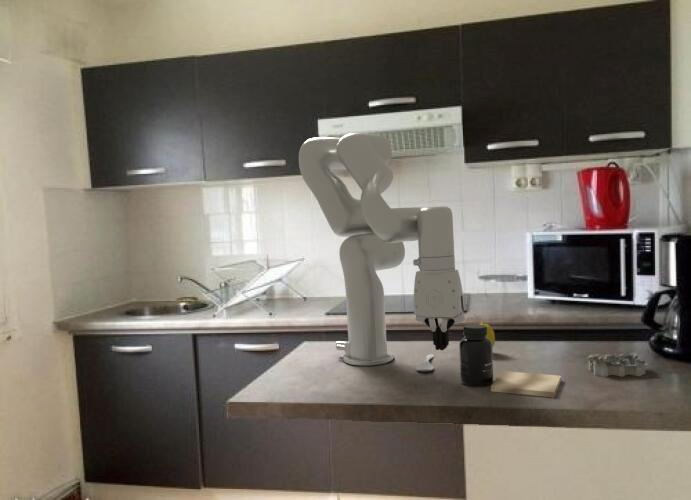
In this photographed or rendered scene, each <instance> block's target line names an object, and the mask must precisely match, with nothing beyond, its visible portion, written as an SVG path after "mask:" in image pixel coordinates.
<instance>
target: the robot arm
mask: <svg viewBox="0 0 691 500" xmlns="http://www.w3.org/2000/svg"><path fill="white" fill-rule="evenodd" d="M392 153H393V150H392V145H391V144H390V142H389V140H388V139H387V138H386V137H385V136H383V135H381V134H378V133H366V132H365V133H362V132H352V133H348V134H345V135H343V136H342V137H331V136H329V137H327V136H320V137H319V136H318V137H312V138H308V139H307V140H306V141H304V142H303V143H302V145H301V146H300V148H299V152H298V165H299V172H300V174H301V176H302V179H303V181H304V183H305V184H306V185H307V187H308V189H309V190H310V191H311V193H312V194H313V196H314V198H315V199H316V201H317V203H318V205H319V207H320V209H321V211H322V213H323V215H324V217H325V219H326V222H327V223H328V225H329V226H330V228H331V230H332V232H333V233H334V234H335V235H337V236H338V237H342V238H343V237H344V238H345V239H344V240H343V241H342V243H341V245H340V247H339V253H338V254H339V261H340V264H341V269H342V272H343V273H342V274H343V277H344V288H345V300H346V301H345V302H346V316H347V317H346V319H347V337H348V340H347V341H342V340H341V341H340V340H338V341H336V344H335V348H336V349H335V350H337V351H344V352H345V354H344V355H343V357H342V358H343V361H344V363H346V364H349V365H353V366H360V367H361V366H363V367H364V366H378V365H384V364H387V363H389V362H391V361H393V359H394V353H393V352H392V351H391V350H388V347H387V326H386V308H385V307H386V306H385V292H384V285H383V283H382V281H381V279H380V277H379V276H378V274H377V272H378V271H382V270H383V271H384V270H390V269H395V268H396V267H399V266H400V265H401V264H402V263H403V261H404V259H405V254H406V248H405V245H404V242H415V241H417V242H418V243H417V244H418V245H417V246H418V257H417V259H413V262H412V263H413V266H415V267H416V266H417V267H418V271H415V277H414V285H413V286H414V287H413V314H414V315H415V321H417V322H420V323H424V324H425V325H426V326H428V328H429V329H430V331H431V332H432V340H433V342H432V344H433V346H435V350H436V351H439V350H440V351H444V350H446V349H447V348H448V346H449V345H450V340H449V338H450V337H449V330H450V329H451V328H452V327H453V325H455V324H461V323H463V322H465V321H466V317H465V314H464V311H465V302H464V293H463V292H464V291H463V286H462V280H461V276H460V273H459V270H458V269H456V257H455V239H454V220H453V218H454V217H453V211H452V209H451V207H448V206H428V207H420V206H418V207H415V206H413V207H396V208H394V207H393V208H392V207H390V206H389V204H388V203H387V202H386V200H385V199H384V197H383V196H382V195H381V194H383V193H384V192H385V191H386V190H387V189H388V188H389V187H390V186H391V184H392V182H393V180H394V172H393V170H392V168H391V167H390V166H389V165H388V164H389V163H390V161H391V159H392V155H393V154H392ZM331 170H333V171H338V170H339V171H347V172H348V173H349V174H350V176H351V178H352V179H353V180H354V182H355V183H356V184H357V185H358V187H359V188H360V190H361V195H360V199H358V198H357V199H356V198H355V197H354V196H353V195H352V194H351V193H350V191H349V189H348V187H347V185H346V184H345V182H344V181H343V180H342V179H341V178H340V177H339V176H338V175H336V174H335V173H334V172H332V171H331ZM346 237H347V238H346ZM440 319H441V325H440V321H439V320H440Z"/></svg>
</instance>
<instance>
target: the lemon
mask: <svg viewBox="0 0 691 500" xmlns="http://www.w3.org/2000/svg"><path fill="white" fill-rule="evenodd" d="M480 324H481V325H485V326H487V334H488V335H487V336H486V337H487V338H488V339H490V340H491V342H492V346H493V347H494V346H495V341H496V337H495V331H494V329H493V327H492V326H490V325H489V324H488V323H485V321H483V322H482V321H481V322H480Z"/></svg>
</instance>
